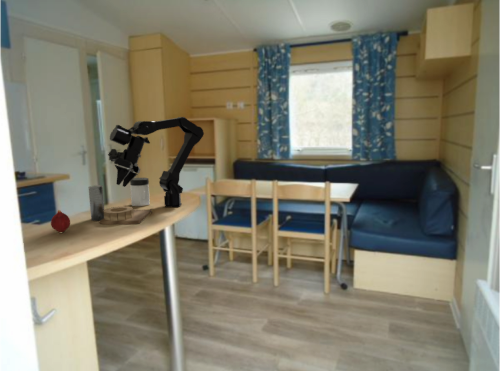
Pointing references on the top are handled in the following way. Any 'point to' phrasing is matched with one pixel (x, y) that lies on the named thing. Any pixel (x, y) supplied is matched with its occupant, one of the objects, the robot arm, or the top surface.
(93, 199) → the chrome metal cylinder
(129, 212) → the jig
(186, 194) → the top surface
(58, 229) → the pomegranate
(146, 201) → the jar
